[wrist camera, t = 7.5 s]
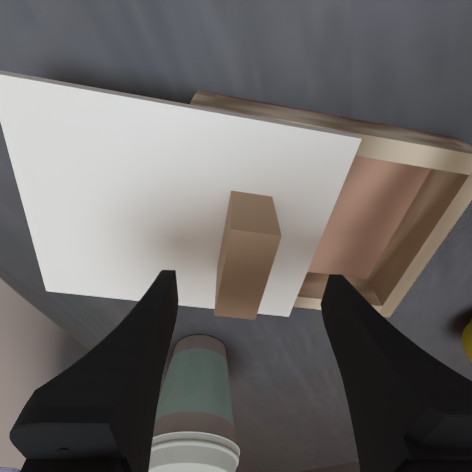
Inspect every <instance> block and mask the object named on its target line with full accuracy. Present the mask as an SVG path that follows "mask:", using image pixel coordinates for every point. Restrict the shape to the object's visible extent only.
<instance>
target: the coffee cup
mask: <svg viewBox="0 0 472 472" xmlns="http://www.w3.org/2000/svg"><path fill="white" fill-rule="evenodd" d="M239 455H240V450H239V447H238V446H237V445H236V441H235V431H234V422H233V412H232V403H231V394H230V384H229V375H228V366H227V357H226V349H225V346H224V345H223V343H222V342H220V341H219V340H218V339H216V338H214V337H211V336H206V335H192V336H188V337H185V338H183V339H181V340H180V341H179V342H178V343H177V344H176V347H175V350H174V353H173V356H172V359H171V363H170V366H169V369H168V372H167V376H166V379H165V382H164V385H163V389H162V392H161V395H160V398H159V402H158V405H157V411H156V418H155V425H154V432H153V440H152V447H151V455H150V463H149V471H148V472H235V471H236V467H237V466H238V463H239V458H238V457H239Z"/></svg>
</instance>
